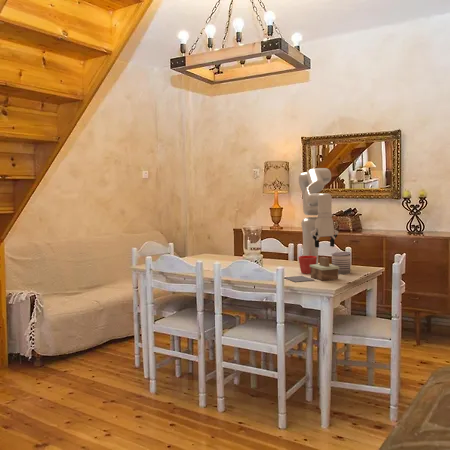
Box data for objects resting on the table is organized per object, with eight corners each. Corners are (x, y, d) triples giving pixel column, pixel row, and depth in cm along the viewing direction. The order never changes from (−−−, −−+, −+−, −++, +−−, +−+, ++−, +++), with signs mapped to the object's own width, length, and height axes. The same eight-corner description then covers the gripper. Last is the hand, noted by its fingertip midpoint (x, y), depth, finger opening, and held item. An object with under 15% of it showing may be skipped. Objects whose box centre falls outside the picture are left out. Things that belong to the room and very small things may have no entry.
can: (353, 274, 302) (353, 253, 301) (334, 274, 301) (334, 254, 300) (347, 271, 313) (347, 251, 312) (329, 271, 313) (329, 251, 312)
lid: (309, 268, 293) (309, 256, 292) (326, 267, 297) (326, 255, 296) (322, 272, 281) (322, 259, 280) (339, 270, 285) (339, 258, 284)
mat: (283, 278, 292) (283, 277, 292) (301, 276, 297) (301, 275, 297) (295, 282, 279) (295, 281, 279) (314, 280, 284) (314, 279, 284)
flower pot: (295, 272, 311) (295, 256, 311) (311, 270, 315) (311, 255, 314) (303, 274, 301) (303, 258, 301) (320, 273, 305) (320, 257, 304)
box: (310, 277, 293) (310, 266, 293) (326, 276, 297) (326, 265, 296) (322, 281, 282) (322, 270, 281) (338, 279, 285) (338, 268, 285)
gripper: (334, 215, 293) (334, 245, 294) (307, 216, 287) (307, 247, 288) (341, 215, 286) (341, 246, 287) (314, 216, 280) (314, 248, 281)
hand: (324, 246), depth 287 cm, fingers open, 9 cm apart
